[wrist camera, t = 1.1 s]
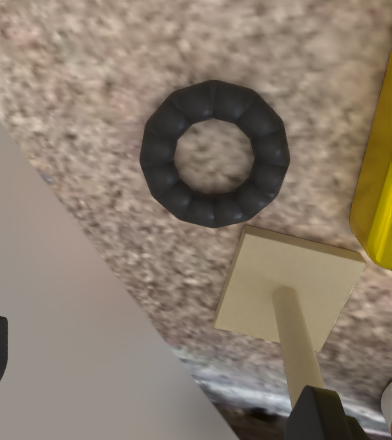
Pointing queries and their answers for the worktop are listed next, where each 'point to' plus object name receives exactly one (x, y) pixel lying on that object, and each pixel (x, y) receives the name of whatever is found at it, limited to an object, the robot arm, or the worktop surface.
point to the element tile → (376, 184)
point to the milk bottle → (387, 406)
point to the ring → (226, 111)
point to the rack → (288, 297)
